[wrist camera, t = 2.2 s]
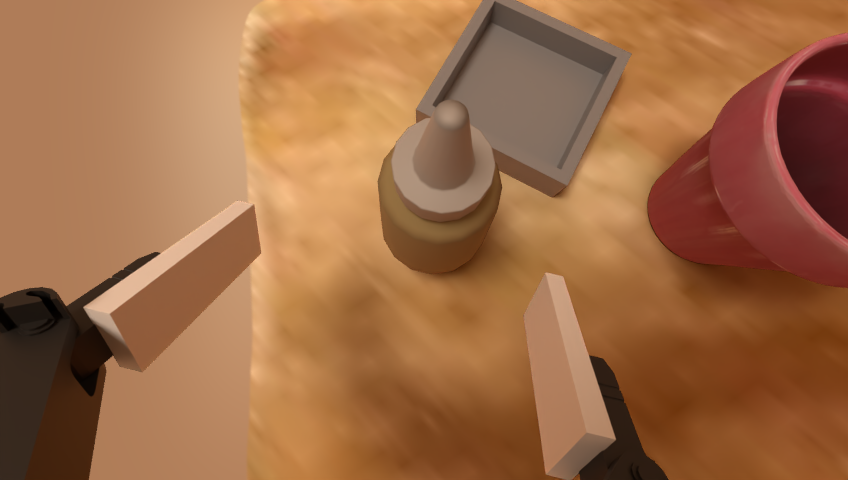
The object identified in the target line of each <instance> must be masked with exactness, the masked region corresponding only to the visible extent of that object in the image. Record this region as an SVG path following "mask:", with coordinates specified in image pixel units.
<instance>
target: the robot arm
mask: <svg viewBox="0 0 848 480" xmlns="http://www.w3.org/2000/svg"><path fill="white" fill-rule="evenodd" d="M260 254H261V248H260V241H259V234H258V228H257V221H256V214H255V207H254V204H251V203H247V202H242V201H238V200H237V201H236V202H235V203H233V204H232V205H230V206H229V207H227V208H226V209H224V210H223V211H222V212H220V213H219V214H217V215H216V216H214V217H213V218H211V219H210V220H209V221H207V222H206V223H204V224H203V225H201V226H200V227H199V228H197V229H196V230H194V231H193V232H191V233H190V234H188V235H187V236H185V237H184V238H183V239H181V240H180V241H178V242H177V243H175V244H174V245H172V246H171V247H170V248H168V249H167V250H165V251H164V252H163V253H158V252H154V253H152V254H149V255H147V256H144V257H142V258H139V259H137V260H136V261H134V262H133V263H131V264H130V265H128V266H127V267H125V268H124V270H121V271H119V272H118V273H116V274H114V275H113V276H112V278H108V279H107V280H105V281H104V282H102V283H101V284H99V285H98V286H96V287H95V288H94V289H92V290H90V291H89V292H87V293H86V294H84V295H83V296H81V297H80V298H78V299H77V300H75V301H74V302H72V303H71V304H69V305H68V306H65V304H64V303H63V301H62V300H61V298H60V297H59V295H58V294H57V292H55V291H54V290H52V289H49V288H43V287H40V288H29V289H25V290H21V291H17V292H13V293H11V294H9V295H6V296H4V297H1V298H0V480H89V474H90V468H91V462H92V456H93V450H94V444H95V437H96V431H97V425H98V419H99V413H100V407H101V401H102V394H103V388H104V382H105V376H106V367H105V364H104V363H105V362H106V361H107V360H108V359H109V358H110V357H112V356H114V358H115V359H116V361H117V363H118V364H119V366H120V367H124V368H127V369H132V370H136V371H139V372H143V371H144V370H145V369H146V368H147V367H148V366H149V365H150V364H151V363H152V362H153V361H154V360H155V359H156V358H157V357H158V356H159V355H160V354H161V353H162V352H163V351H164V350H165V349H166V348H167V347H168V346H169V345H170V344H171V343H172V342H173V341H174V340H175V339H176V338H177V337H178V336H179V335H180V334H181V333H182V332H183V331H184V330H185V329H186V328H187V327H188V326H189V325H190V324H191V323H192V322H193V321H194V320H195V319H196V318H197V317H198V316H199V315H200V314H201V313H202V312H203V311H204V310H205V309H206V308H207V307H208V306H209V305H210V304H211V303H212V302H213V301H214V300H215V299H216V298H217V297H218V296H219V295H220V294H221V293H222V292H223V291H224V290H225V289H226V288H227V287H228V286H229V285H230V284H231V283H232V282H233V281H234V280H235V279H236V278H237V277H238V276H239V275H240V274H241V273H242V272H243V271H244V270H245V269H246V268H247V267H248V266H249V265H250V264H251V263H252V262H253V261H254V260H255V259H256V258H257V257H258V256H259V255H260ZM523 316H524V324H525V331H526V338H527V345H528V352H529V359H530V366H531V373H532V380H533V387H534V394H535V401H536V409H537V416H538V423H539V430H540V437H541V444H542V451H543V458H544V465H545V472H546V475H549V476H553V477H557V478H561V479H565V480H572V479H573V478H574V477H575V476H576V475H577V474H580V479H581V480H668V478H667V476H666V475H665V473H664V472H663V470H662V469H661V468H660V467H659V466H658V465H657V464H656V463H655V462H654V461H653V460H652V459H650V458H649V457H647V456H646V455H645V453H644V451H643V448H642V446H641V443H640V440H639V438H638V435H637V433H636V430H635V427H634V425H633V422H632V419H631V417H630V414H629V412H628V409H627V406H626V404H625V403H624V399H623V396H622V393H621V391H619V385H618V383H617V380H616V378H615V375H614V373H613V371H612V370H611V369H610V367H609V366H608V365H607V363H606V362H605V361H604V359H602V358H598V357H594V356H589V355H588V352H587V349H586V346H585V343H584V339H583V336H582V333H581V330H580V327H579V324H578V321H577V318H576V315H575V312H574V309H573V306H572V302H571V299H570V296H569V293H568V290H567V287H566V284H565V281H564V278H563V276H559V275H555V274H551V273H546V272H545V274H544V276H543V278H542V280H541V282H540V284H539V286H538V288H537V290H536V292H535V294H534V296H533V298H532V300H531V302H530V304H529V306H528V307H527V309H526V311H525V313H524V315H523Z"/></svg>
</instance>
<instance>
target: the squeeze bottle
mask: <svg viewBox="0 0 848 480" xmlns="http://www.w3.org/2000/svg"><path fill="white" fill-rule="evenodd" d="M378 190H379V201H380V212H381V221H382V229H383V236H384V240H385V242H386V244H387V245H388V247H389V249H390V250H391V252H392V254H393V255H394V257H395V258H397V259H398V260H399V261H401V262H402V263H403V264H405V265H406V266H408V267H409V268H410V269H412V270H416V271H421V272H425V273H429V274H437V273H443V272H450V271H453V270H455V269H457V268H458V267H460V266H462V265H463V264H465V263H466V262H468V261H470V260H471V258H472V257H473V256H474V254H475V253H476V251H477V250H478V249H479V247H480V246H481V244H482V243H483V240H484V238H485V236H486V234H487V232H488V229H489V227H490V225H491V223H492V221H493V218H494V216H495V214H496V212H497V209H498V205H499V200H500V195H501V190H502V184H501V179H500V174H499V169H498V165H497V163H496V162H495V159H494V154H493V150H492V146H491V145H490V144H489V142H488V141H487V139H486V138H485V136H484V135H483V133H482V132H481V131H480V130H479V129H477V128H476V127H474V126H472V125H471V124H470V120H469V113H468V109H467V108H466V107H465V105H464V104H462V103H461V102H459V101H457V100H452V99H451V100H445V101H443V102H441V103H439V104H438V105H437V107H436V108H435V110H434V112H433V114H432V116H431V118H425V119H423V120H421V121H420V122H418V123H416V124H414V125H412V126H411V127H409V128H408V129H407V130H406V131H405V132H404V134H403V135H402V136H401V137H400V138H399V140H398V141H397V142H396V144H395V146H394V148H393V149H392V150H391V151H390V153H389V154H388V155H387V156H386V157H385V159H384V161H383V165H382V168H381V172H380V175H379V179H378Z"/></svg>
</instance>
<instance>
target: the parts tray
mask: <svg viewBox="0 0 848 480" xmlns="http://www.w3.org/2000/svg"><path fill="white" fill-rule="evenodd" d="M631 54H632V53H629V52H627V51H625V50H623V49H621V48H619V47H616V46H614V45H612V44H610V43H608V42H605V41H603V40H601V39H599V38H597V37H595V36H592V35H590V34H588V33H586V32H584V31H581V30H579V29H577V28H575V27H573V26H571V25H568V24H566V23H564V22H562V21H560V20H558V19H555V18H553V17H551V16H549V15H547V14H544V13H542V12H540V11H538V10H536V9H534V8H531V7H529V6H527V5H525V4H523V3H520V2H518V1H516V0H483V1H482V2H481V4H480V6H479V7H478V9H477V10H476V12H475V14H474V15H473V17H472V19H471V20H470V22H469V24H468V25H467V27H466V28H465V30H464V32H463V33H462V35H461V37H460V38H459V40H458V42H457V43H456V45H455V46H454V48H453V50H452V51H451V53H450V55H449V56H448V58H447V60H446V61H445V63H444V64H443V66H442V68H441V69H440V71H439V73H438V74H437V76H436V78H435V79H434V81H433V82H432V84H431V86H430V87H429V89H428V91H427V92H426V94H425V96H424V97H423V99H422V100H421V102H420V104H419V105H418V107H417V109H416V123H418V122H420V121H421V120H423V119H425V118H431V116H432V114H433V112H434V110H435V108H436V107H437V105H438V104H439V103H441V102H443V101H445V100H451V99H452V100H457V101H459V102H461V103H462V104H464V105H465V107H466V108H467V109H468V113H469V120H470V124H471V125H472V126H474V127H476V128H477V129H479V130H480V131H481V132H482V133H483V135H484V136H485V138H486V139H487V141H488V142H489V144H490V145H491V146H492V150H493V154H494V159H495V162H496V163H497V165H498V169H499V170H500V171H502V172H504V173H505V174H507V175H509V176H511V177H513V178H515V179H517V180H519V181H521V182H523V183H525V184H527V185H529V186H531V187H533V188H535V189H537V190H539V191H541V192H543V193H545V194H547V195H549V196H551V197H554V196H555V195H556V194H557V193H559V192H560V191H561V190H562V189H564V188H565V187H566V186H567V185H568V183H569V181H570V179H571V177H572V175H573V173H574V171H575V169H576V167H577V165H578V163H579V161H580V159H581V157H582V155H583V153H584V151H585V148H586V146H587V144H588V142H589V140H590V138H591V136H592V134H593V132H594V130H595V128H596V126H597V124H598V122H599V120H600V118H601V116H602V114H603V112H604V109H605V107H606V105H607V103H608V101H609V99H610V97H611V95H612V93H613V91H614V89H615V87H616V85H617V83H618V81H619V79H620V77H621V75H622V73H623V70H624V68H625V66H626V64H627V62H628V60H629V58H630V56H631Z"/></svg>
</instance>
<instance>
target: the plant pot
mask: <svg viewBox="0 0 848 480" xmlns="http://www.w3.org/2000/svg"><path fill="white" fill-rule="evenodd" d="M648 214H649V219H650V222H651V225H652V227H653V229H654V231H655V233H656V235H657V236H658V238H659V239H660V240H661V241H662V243H663V244H664V245H665V246H666V247H667V248H668V249H670V250H671V251H672V252H674V253H675V254H677V255H678V256H680V257H682V258H684V259H687V260H689V261H693V262H696V263H702V264H716V265H727V266H736V267H746V268H756V269H767V270H778V271H788V272H790V273H792V274H794V275H796V276H799V277H801V278H804V279H806V280H810V281H813V282H816V283H819V284H824V285H828V286H834V287H843V288H848V33H844V34H839V35H835V36H831V37H828V38H825V39H822V40H820V41H818V42H815V43H813V44H811V45H809V46H807V47H806V48H804V49H802V50H800V51H799V52H797V53H795V54H794V55H792V56H790V57H789V58H787V59H786V60H784V61H782V62H781V63H779V64H778V65H776V66H775V67H773V68H771V69H770V70H768V71H767V72H765V73H764V74H762V75H761V76H759V77H758V78H756V79H755V80H753V81H752V82H750V83H749V84H747V85H746V86H745V87H743V88H742V89H740V90H739V91H738V92H737V93H736V94H735V95H734V96H733V97H732V98H731V99H730V100H729V101H728V102H727V103H726V104H725V106H724V107H723V108H722V110H721V112H720V113H719V115H718V117H717V119H716V121H715V123H714V125H713V128H712V129H711V130H710V131H709V132H708V133H707V134H705V135H704V136H703V137H702V138H701V139H700V140H699V141H698V142H696V143H695V144H694V145H693V146H692V147H691V148H690V149H689V150H688V151H687V152H686V153H684V154H683V155H682V156H681V157H680V158H679V159H678V160H677V161H676V162H675V163H674V164H673V165H672V166H671V167H670V168H669V169H668V170H667V171H666V172H665V173H663V174H662V175H661V176H660V177H659V178H658V179H657V181H656V182H655V184H654V185H653V187H652V189H651V192H650V195H649V199H648Z"/></svg>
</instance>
